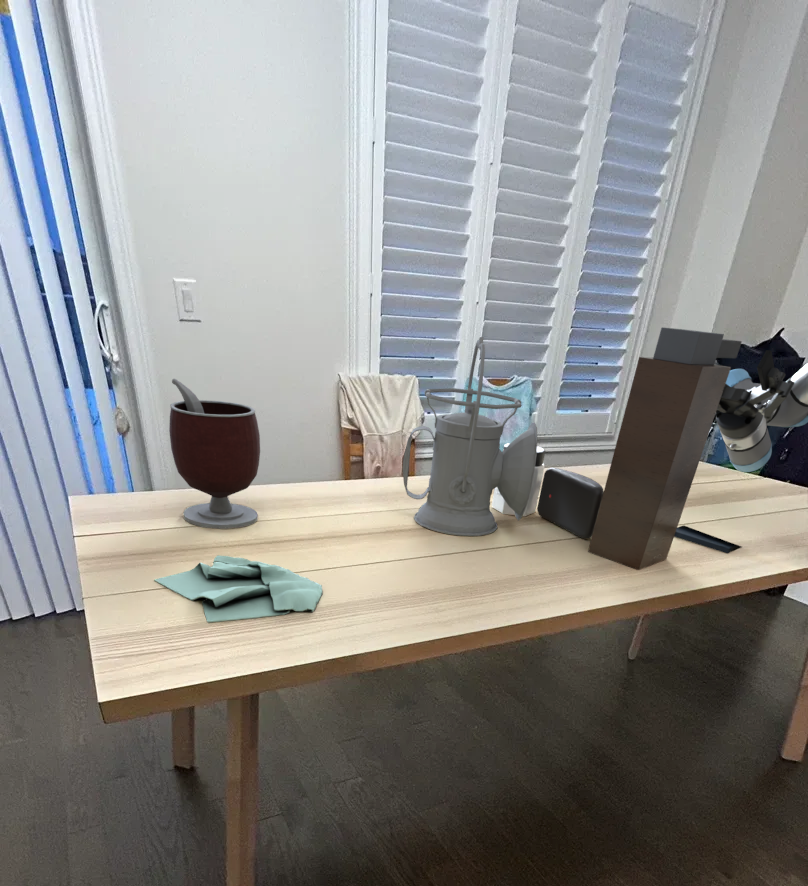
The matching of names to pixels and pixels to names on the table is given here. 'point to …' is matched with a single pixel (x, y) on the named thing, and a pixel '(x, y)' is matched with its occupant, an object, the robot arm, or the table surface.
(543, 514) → the red-dotted rounded block
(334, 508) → the table surface
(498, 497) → the jar
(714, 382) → the plinth
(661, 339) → the switch lever
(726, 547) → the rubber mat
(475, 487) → the lantern
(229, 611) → the cloth
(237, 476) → the mate gourd
